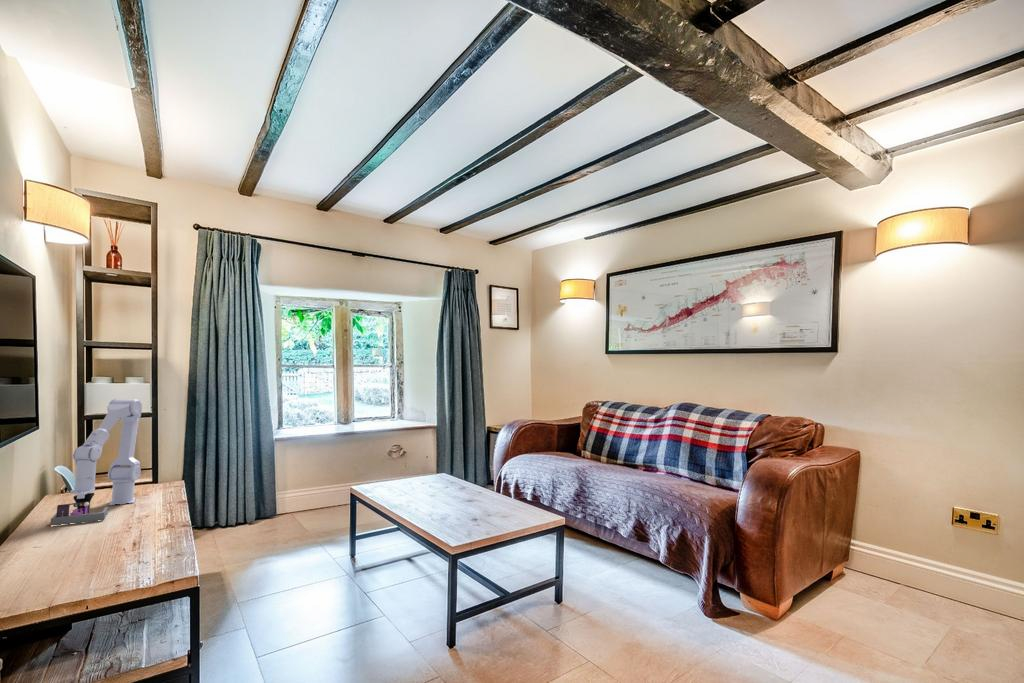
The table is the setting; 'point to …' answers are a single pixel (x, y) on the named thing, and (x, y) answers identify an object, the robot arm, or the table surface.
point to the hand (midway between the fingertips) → (82, 513)
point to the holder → (79, 518)
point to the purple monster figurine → (64, 510)
